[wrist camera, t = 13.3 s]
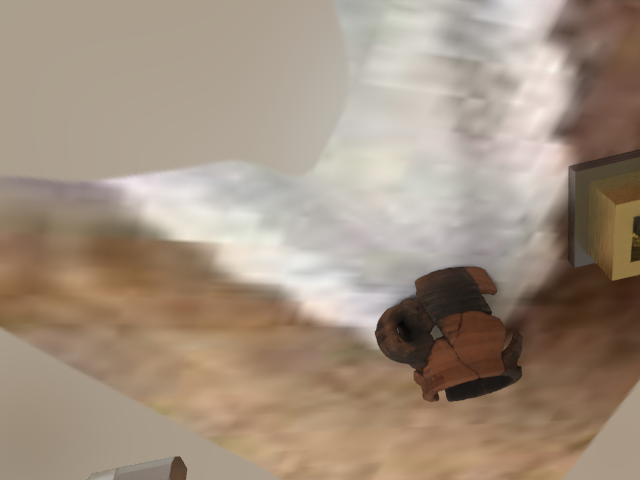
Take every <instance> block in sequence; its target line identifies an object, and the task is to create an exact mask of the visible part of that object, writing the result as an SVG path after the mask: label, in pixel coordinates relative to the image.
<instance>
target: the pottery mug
mask: <svg viewBox="0 0 640 480" xmlns="http://www.w3.org/2000/svg"><path fill="white" fill-rule="evenodd" d="M415 286H416V290H417V291H416V296H417V298H416V301H415V300H412V299H405V300H403V301H402V302H401V303H400V304H399V305H396V306H394V307H391V308H389V309H387V310H386V311H385V312H384V314H383V315H382V316H381V317H380V319H379V321H378V323H377V328H376V331H375V336H376V339H377V343H378V345H379V348H380V349H381V351H382V352H383V353H384V354H385V355H386V356H387V357H388V358H390V359H392V360H394V361H397V362H400V363H406V364H409V365H410V366H411V367H412V368H415V369H416V370H415V371H414V380H415V382H416V383H417V384H419V385H420V386H421V388H422V391H423V394H422V395H423V398H424V399H425V400H427V401H430V402H433V401H438V400H439V395H438V392H439V391H442V390H444V389H445V392H446V397H447V400H448V401H449V402H452V401H460V400H465V399H469V398H475V397H478V396H482V395H485V394H488V393H492V392H494V391H497V390H500V389H502V388H505V387H507V386H509V385H511V384H513V383H515V382H517V381H518V380H519V379H520V378H521V376H522V371H521V369H522V367H521V366H517V361H518V359H519V357H520V353H521V350H522V347H521V346H522V335H521V334H520V332H519V331H518V330H515V331H514V332H513V336H512V341H511V342H510V344H509V346H508V347H507V348H506V349H505V350H504V351H503V348H504V342H505V335H506V328H505V327H504V325H503V322H502V321H501V320H500V319H499V318H497V317H495V316H492V315H491V314H492V311H491V309H490V307H489V305H488V304H487V303H486V301H485V299H484V297H483V296H482V295H481V294H491V295H495V294H496V293H497V288H496V286H495V284H494V283H493V281H492V280H491V278H490V277H489V276H488V274H487V272H486V271H485V270H484V269H481V268H476V267H465V268H464V267H459V268H447V269H444V270H438V271H436V272H432V273H430V274H428V275H425V276H423V277H421V278H419V279H417V280H416V281H415ZM435 325H436V326H437V327H438V328H439V329H440V331H441V332H442V334H443V337H440V338H437V339H436V340H433V337H432V336H431V335H430V333H431V331H432V329H433V327H434V326H435ZM397 328H398V331H397ZM398 332H399V333H398ZM502 351H503V352H502Z"/></svg>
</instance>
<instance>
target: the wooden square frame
mask: <svg viewBox="0 0 640 480" xmlns="http://www.w3.org/2000/svg"><path fill="white" fill-rule="evenodd" d="M636 216H640V171H636V172H631V173H627V174H623V175H618V176H614V177H610V178H606V179H601V180H597V181H593V182H589V220H588V255H589V256H590V257H591V258H592V259H593V260H594V262H595V263H596V264H597V265H598V266H599V267H600V268H601V269H602V270H603V271H604V272H605V274H606V275H607V276H608V277H609V278H610V279H611V280H612V281H613V280H618V279H622V278H626V277H631V276H635V275H640V238H639V237H638V236H637V235H636V234H635V233H634V232H633V219H634V217H636Z"/></svg>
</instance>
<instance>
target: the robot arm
mask: <svg viewBox="0 0 640 480" xmlns="http://www.w3.org/2000/svg"><path fill="white" fill-rule="evenodd" d="M186 475H187V467H186V466H185V464H184V462H183V461H182V459H181V457H171V458H165V459H160V460H155V461H150V462H145V463H140V464H135V465H129V466H124V467H120V468H116V469H111V470H106V471H102V472H96V473H92V474H91V475H90V476H89V478H88V479H87V480H186Z"/></svg>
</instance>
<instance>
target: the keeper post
mask: <svg viewBox="0 0 640 480" xmlns="http://www.w3.org/2000/svg"><path fill="white" fill-rule="evenodd" d="M636 171H640V150H636V151H632V152H628V153H623V154H619V155H615V156H611V157H607V158H602V159H598V160H594V161H590V162H585V163H581V164H577V165H573V166H569V257H568V261H569V262H570V263H571V264H572V265H573V267H574V268H576V267H580V266H584V265H589V264H593V263H595V262H594V260H593V259H592V258H591V257H590V256H589V255H588V220H589V182H593V181H597V180H601V179H606V178H610V177H614V176H618V175H623V174H627V173H631V172H636ZM633 232H634V233H635V234H636V235H637V236H638V237H639V238H640V216H636V217H634V219H633Z"/></svg>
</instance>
